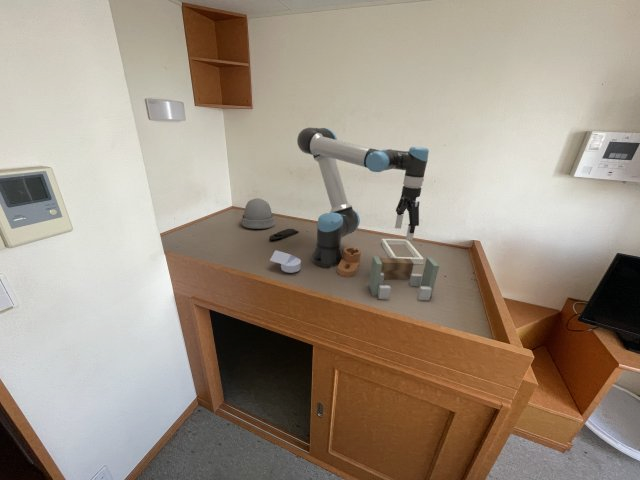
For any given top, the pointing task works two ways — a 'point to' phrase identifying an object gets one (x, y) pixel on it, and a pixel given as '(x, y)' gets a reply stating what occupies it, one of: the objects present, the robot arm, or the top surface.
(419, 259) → the frame
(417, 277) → the green fixture with posts
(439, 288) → the top surface
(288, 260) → the wedge on round base
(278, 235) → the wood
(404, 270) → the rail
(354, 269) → the bracket
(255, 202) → the beanie hat
